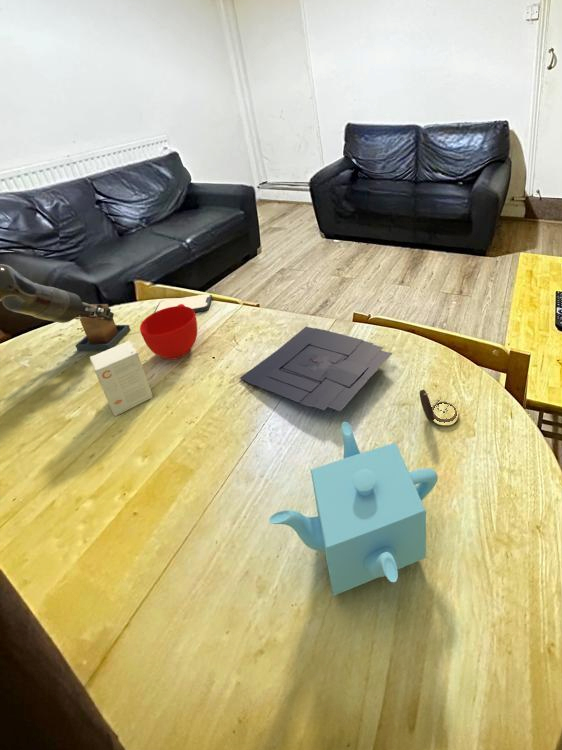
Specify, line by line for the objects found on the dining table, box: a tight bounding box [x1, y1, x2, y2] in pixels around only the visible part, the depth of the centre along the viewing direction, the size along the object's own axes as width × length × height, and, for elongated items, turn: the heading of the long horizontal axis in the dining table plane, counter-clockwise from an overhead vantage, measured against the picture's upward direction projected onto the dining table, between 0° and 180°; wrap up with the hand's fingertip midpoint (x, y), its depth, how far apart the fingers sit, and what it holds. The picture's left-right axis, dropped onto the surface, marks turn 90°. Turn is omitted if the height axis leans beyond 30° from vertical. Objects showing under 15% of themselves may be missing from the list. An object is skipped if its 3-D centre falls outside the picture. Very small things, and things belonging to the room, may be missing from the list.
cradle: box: [74, 324, 131, 352], centre depth 115 cm, size 9×9×2 cm
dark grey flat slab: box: [239, 326, 393, 412], centre depth 100 cm, size 24×30×4 cm
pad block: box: [79, 303, 118, 344], centre depth 113 cm, size 5×5×10 cm
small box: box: [89, 340, 154, 417], centre depth 92 cm, size 8×6×13 cm
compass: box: [419, 389, 457, 423], centre depth 86 cm, size 8×8×7 cm
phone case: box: [153, 293, 213, 313], centre depth 129 cm, size 9×2×16 cm
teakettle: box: [268, 421, 439, 597], centre depth 62 cm, size 19×19×15 cm
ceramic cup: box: [139, 304, 198, 360], centre depth 110 cm, size 13×17×10 cm
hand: (101, 317), depth 114 cm, fingers closed on pad block, 5 cm apart
